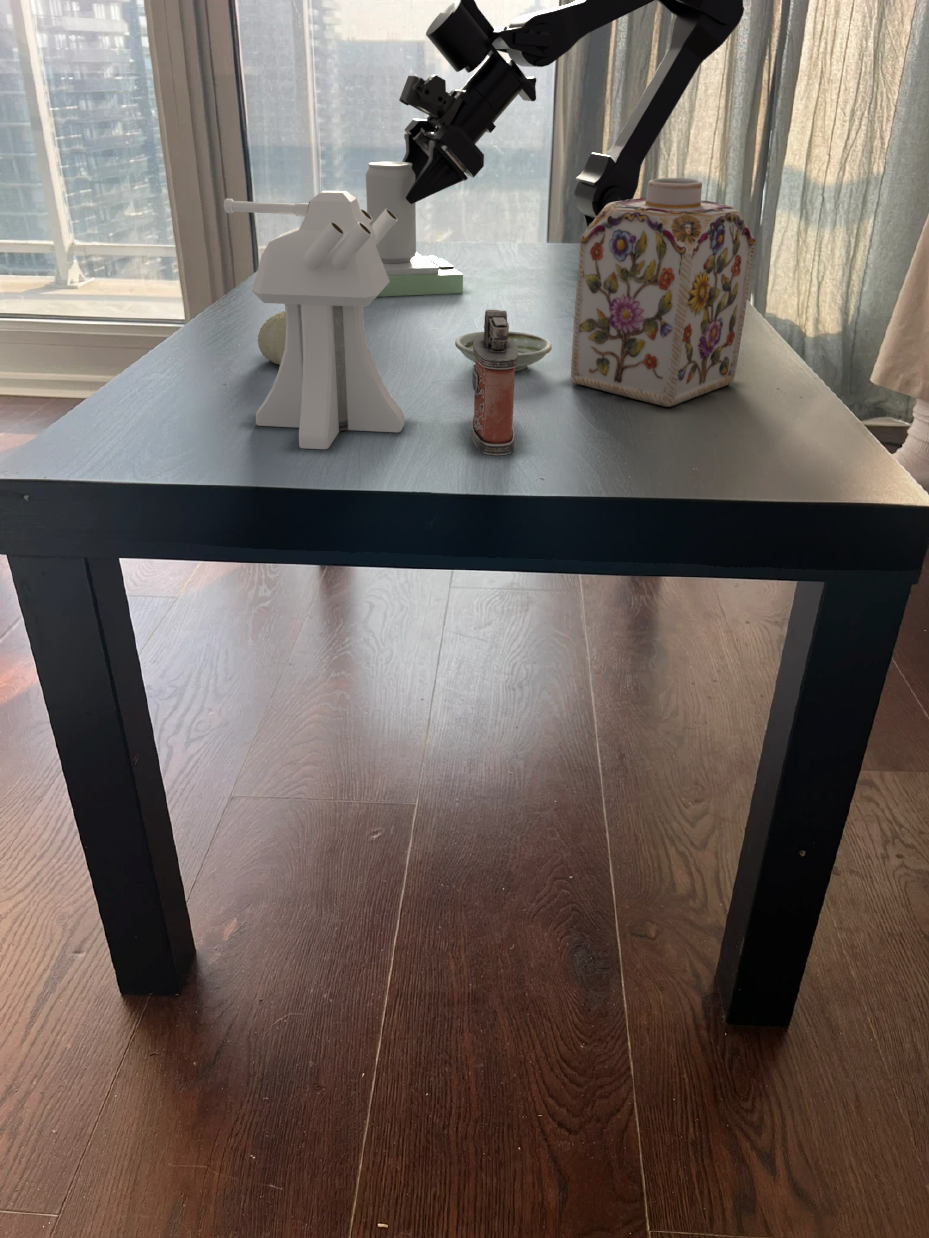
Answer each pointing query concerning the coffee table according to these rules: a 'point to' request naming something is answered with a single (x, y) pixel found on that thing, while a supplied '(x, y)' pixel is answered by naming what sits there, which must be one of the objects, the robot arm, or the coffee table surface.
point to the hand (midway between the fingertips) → (399, 197)
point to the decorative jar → (661, 295)
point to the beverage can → (393, 208)
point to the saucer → (527, 344)
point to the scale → (422, 277)
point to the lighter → (494, 386)
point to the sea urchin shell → (273, 338)
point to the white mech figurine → (325, 318)
